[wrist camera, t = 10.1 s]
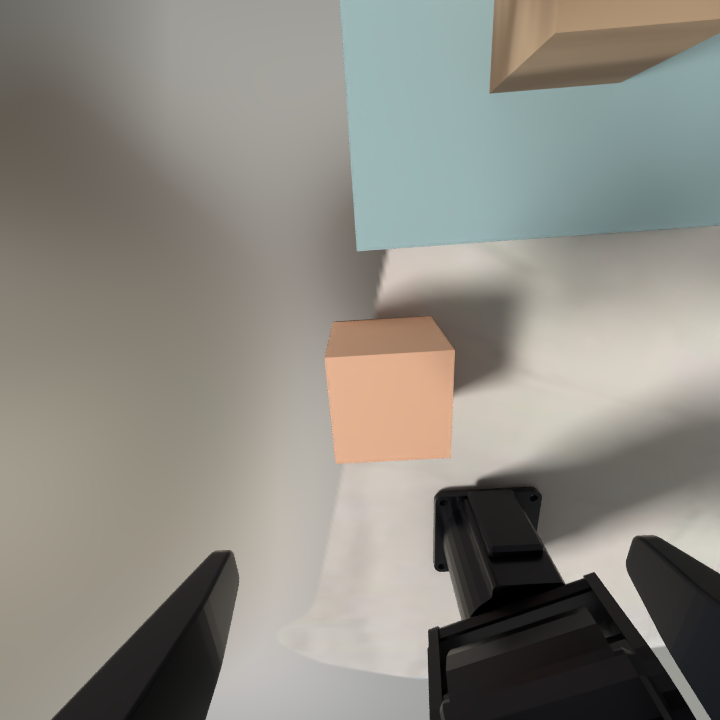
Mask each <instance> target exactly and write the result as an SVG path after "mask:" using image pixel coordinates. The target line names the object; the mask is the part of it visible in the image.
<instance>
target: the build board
mask: <svg viewBox="0 0 720 720" xmlns="http://www.w3.org/2000/svg"><path fill="white" fill-rule="evenodd" d="M340 10H341V25H342V39H343V54H344V69H345V83H346V98H347V113H348V127H349V142H350V157H351V171H352V185H353V201H354V215H355V230H356V245H357V251H366V250H380V249H395V248H409V247H423V246H437V245H451V244H465V243H479V242H493V241H507V240H521V239H535V238H549V237H563V236H577V235H591V234H605V233H619V232H633V231H648V230H662V229H676V228H690V227H704V226H718V225H720V33H719V34H717V35H715V36H713V37H711V38H709V39H707V40H705V41H703V42H701V43H699V44H697V45H695V46H693V47H691V48H689V49H687V50H685V51H683V52H681V53H679V54H677V55H675V56H673V57H671V58H669V59H667V60H665V61H663V62H661V63H659V64H657V65H655V66H653V67H651V68H649V69H647V70H645V71H643V72H641V73H639V74H637V75H635V76H633V77H631V78H629V79H627V80H625V81H623V82H621V83H613V84H601V85H589V86H576V87H564V88H552V89H540V90H528V91H516V92H504V93H492V94H489V90H490V72H491V53H492V35H493V16H494V0H340Z"/></svg>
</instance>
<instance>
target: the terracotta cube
mask: <svg viewBox="0 0 720 720" xmlns="http://www.w3.org/2000/svg"><path fill="white" fill-rule="evenodd" d="M454 361H455V349H454V348H453V347H452V345H451V344H450V342H449V341H448V340H447V338H446V337H445V335H444V334H443V333H442V331H441V330H440V328H439V327H438V326H437V324H436V323H435V321H434V320H433V318H432V317H431V316H423V317H406V318H390V319H374V320H373V319H368V320H353V321H352V320H351V321H336V322H335V321H334V322H333V324H332V328H331V332H330V336H329V341H328V345H327V349H326V354H325V367H326V375H327V385H328V395H329V404H330V413H331V423H332V432H333V440H334V451H335V460H336V464H340V463H359V462H377V461H396V460H414V459H433V458H451V434H452V410H453V386H454Z"/></svg>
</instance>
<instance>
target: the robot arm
mask: <svg viewBox="0 0 720 720" xmlns="http://www.w3.org/2000/svg"><path fill="white" fill-rule="evenodd" d="M532 495H533V496H532ZM530 496H531V497H530ZM441 500H445V501H442V502H441ZM541 500H542V495H541V494H540V492H539V490H538V489H537V488H535V487H523V488H505V489H488V490H470V491H453V492H440V493H438V494H436V495H435V497H434V542H433V563H434V567H435V569H436V570H437V571H439V572H446V571H449V573H450V577H451V581H452V584H453V588H454V592H455V596H456V600H457V604H458V608H459V612H460V616H461V621H459V622H456V623H453V624H450V625H447V626H444V627H441V628H439V627H438V626H437V627H435V628H432V629H429V630H428V639H429V647H428V677H429V706H430V707H429V708H430V720H696V718H695V717H694V715H693V713H692V712H691V710H690V708H689V707H688V705H687V703H686V702H685V700H684V698H683V697H682V695H681V694H680V692H679V690H678V689H677V687H676V686H675V684H674V683H673V681H672V679H671V678H670V676H669V675H668V673H667V672H666V670H665V669H664V667H663V666H662V665H661V663H660V661H659V660H658V658H657V657H656V656H655V654H654V653H653V651H652V650H651V648H650V647H649V646H648V644H647V643H646V642H645V640H644V639H643V637H642V636H641V635H640V633H639V632H638V631H637V629H636V628H635V627H634V625H633V624H632V623H631V621H630V620H629V618H628V617H627V616H626V614H625V613H624V612H623V610H622V609H621V608H620V606H619V605H618V604H617V602H616V601H615V599H614V598H613V597H612V595H611V594H610V593H609V591H608V590H607V589H606V587H605V586H604V585H603V583H602V582H601V580H600V579H599V578H598V576H597V575H596V574H595V572H593V573H590V574H587V575H584V576H583V577H584V578H583V579H580V580H577V581H574V582H571V583H568V584H565V582H564V580H563V579H562V577H561V575H560V573H559V572H558V570H557V568H556V566H555V564H554V563H553V561H552V559H551V557H550V556H549V554H548V552H547V550H546V548H545V547H544V544H543V543H542V541H541V539H540V537H539V535H538V534H537V532H536V531H537V525H538V519H539V512H540V506H541ZM626 568H627V571H628V574H629V576H630V578H631V580H632V582H633V584H634V586H635V588H636V590H637V591H638V593H639V595H640V597H641V599H642V601H643V603H644V605H645V607H646V609H647V611H648V613H649V615H650V616H651V618H652V620H653V622H654V624H655V626H656V628H657V630H658V632H659V634H660V636H661V638H662V639H663V641H664V643H665V645H666V647H667V648H668V650H669V652H670V654H671V655H672V657H673V659H674V660H675V662H676V664H677V665H678V667H679V669H680V670H681V672H682V673H683V675H684V677H685V678H686V680H687V682H688V683H689V685H690V686H691V688H692V689H693V691H694V693H695V694H696V696H697V698H698V699H699V701H700V702H701V704H702V705H703V707H704V709H705V710H706V712H707V714H708V715H709V717H710V718H711V720H720V574H719V573H718V572H716V571H714V570H713V569H711V568H709V567H708V566H706V565H704V564H703V563H701V562H699V561H698V560H696V559H694V558H693V557H691V556H690V555H688V554H686V553H685V552H683V551H681V550H680V549H678V548H676V547H675V546H673V545H671V544H670V543H668V542H666V541H665V540H663V539H661V538H659V537H657V536H654V535H643V536H636V537H634V538H633V540H632V543H631V546H630V550H629V553H628V556H627V559H626ZM238 586H239V573H238V569H237V565H236V561H235V557H234V554H233V552H232V551H231V550H218V551H214V552H212V553H211V554H210V555H209V556H208V557H207V558H206V559H205V560H204V561H203V562H202V563H201V564H200V565H199V567H197V569H196V570H195V571H194V572H193V573H192V574H191V575H190V576H189V577H188V578H187V579H186V580H185V581H184V582H183V583H182V584H181V585H180V586H179V587H178V589H176V590H175V591H174V592H173V593H172V594H171V595H170V597H169V598H168V599H167V600H166V601H165V602H164V603H163V604H162V605H161V606H160V607H159V608H158V609H157V610H156V611H155V612H154V613H153V614H152V615H151V616H150V617H149V618H148V619H147V620H146V621H145V622H144V624H143V625H142V626H141V627H140V628H139V629H138V630H137V631H136V632H135V633H134V634H133V635H132V636H131V637H130V638H129V639H128V640H127V641H126V642H125V643H124V644H123V645H122V646H121V648H119V650H118V651H117V652H116V653H115V654H114V655H113V656H112V657H111V658H110V659H109V660H108V661H107V662H106V663H105V664H104V665H103V666H102V667H101V668H100V669H99V670H98V672H97V673H95V674H94V676H93V677H92V678H91V679H90V680H89V681H88V682H87V683H86V684H85V685H84V686H83V687H82V688H81V689H80V690H79V691H78V692H77V693H76V694H75V695H74V696H73V697H72V698H71V699H70V700H69V701H68V702H67V704H66V705H65V706H64V707H63V708H62V709H61V710H60V711H59V712H58V713H57V714H56V715H55V716H54V717H53V718H52V720H205V719H206V716H207V713H208V710H209V706H210V703H211V700H212V696H213V693H214V690H215V687H216V684H217V680H218V677H219V673H220V670H221V666H222V661H223V658H224V653H225V648H226V644H227V639H228V634H229V629H230V625H231V620H232V615H233V610H234V606H235V601H236V596H237V591H238Z"/></svg>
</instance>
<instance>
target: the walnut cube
mask: <svg viewBox="0 0 720 720" xmlns="http://www.w3.org/2000/svg"><path fill="white" fill-rule="evenodd" d="M719 33H720V0H494V16H493V35H492V53H491V72H490V90H489V94H492V93H504V92H516V91H528V90H540V89H552V88H564V87H576V86H589V85H601V84H613V83H621V82H623V81H625V80H627V79H629V78H631V77H633V76H635V75H637V74H639V73H641V72H643V71H645V70H647V69H649V68H651V67H653V66H655V65H657V64H659V63H661V62H663V61H665V60H667V59H669V58H671V57H673V56H675V55H677V54H679V53H681V52H683V51H685V50H687V49H689V48H691V47H693V46H695V45H697V44H699V43H701V42H703V41H705V40H707V39H709V38H711V37H713V36H715V35H717V34H719Z"/></svg>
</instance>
